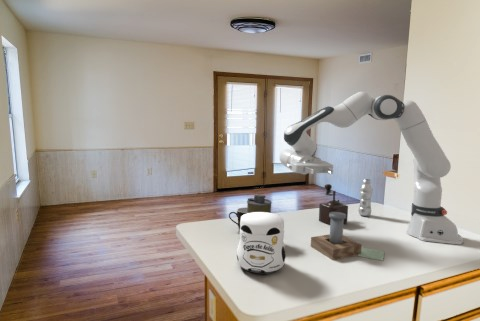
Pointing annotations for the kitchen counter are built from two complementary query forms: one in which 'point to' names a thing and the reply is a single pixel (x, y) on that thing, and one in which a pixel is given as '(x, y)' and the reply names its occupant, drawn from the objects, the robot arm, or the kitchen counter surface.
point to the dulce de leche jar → (261, 242)
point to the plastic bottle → (365, 198)
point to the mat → (372, 254)
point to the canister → (258, 204)
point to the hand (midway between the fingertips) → (323, 172)
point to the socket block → (335, 247)
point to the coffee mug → (239, 215)
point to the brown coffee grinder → (331, 207)
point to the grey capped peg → (336, 227)
